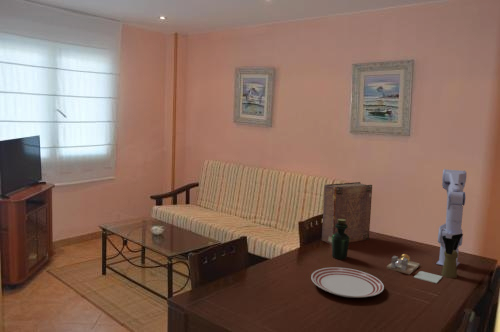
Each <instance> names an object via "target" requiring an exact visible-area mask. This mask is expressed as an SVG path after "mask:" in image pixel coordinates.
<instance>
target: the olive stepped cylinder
mask: <svg viewBox="0 0 500 332" xmlns="http://www.w3.org/2000/svg"><path fill="white" fill-rule="evenodd" d="M444 255H445V261H444V265H443V266H442V270H441V276H443V277H445V278H449V279H456V278H457V277H458V272H457V271H458V270H457V267H456V258H457V257H458V258H459V252H458V253H457V251H455V250H453V253H452V254H446V250H445V252H444Z"/></svg>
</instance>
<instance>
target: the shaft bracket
mask: <svg viewBox="0 0 500 332" xmlns="http://www.w3.org/2000/svg"><path fill="white" fill-rule="evenodd" d="M398 260H400V258H399V256H396V255H393V256H392V257H391V263H389V264H387V265H386V270H391V271H394V272H399V273H403V274H405V275H410V274H412V273H413V272H414V271H416V270H417V268H420V266H421V263H419V262H415V261H411V260H410V261H409V262H408V259H406V258H404V259H403V260H402V264H401V265H400V266H399V267H395V265H394V264H395V263H396V262H397V261H398Z"/></svg>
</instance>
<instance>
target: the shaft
mask: <svg viewBox="0 0 500 332" xmlns="http://www.w3.org/2000/svg"><path fill="white" fill-rule="evenodd" d="M404 258H406V259H408V262H409V261H411V257H410V255H409V254H407V253H403V254H401V255H400V256H399V259H400V260H398V261H397V262H396V263H395V264H394V265H395V267H399V266H400V265H401V264H402V260H403V259H404Z"/></svg>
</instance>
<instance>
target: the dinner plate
mask: <svg viewBox="0 0 500 332" xmlns="http://www.w3.org/2000/svg"><path fill="white" fill-rule="evenodd" d="M310 278H311V281H312V283H313V284H314V286H317V288H319V289H321V290H323V291H325V292H328V293H330V294H333V295H335V296H338V297H342V298H352V299H354V298H355V299H356V298H358V299H359V298H368V297H374V296H377V295H379V294H381V293H383V291H384V290H385V286H384V283H383V282H382V281H381V280H380V279H379V278H378V277H376V276H374V275H372V274H370V273H368V272H364V271H362V270H357V269H354V268H353V269H352V268H347V267H323V268H320V269H316V270H315V271H313V272H312V273H311V276H310Z"/></svg>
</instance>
